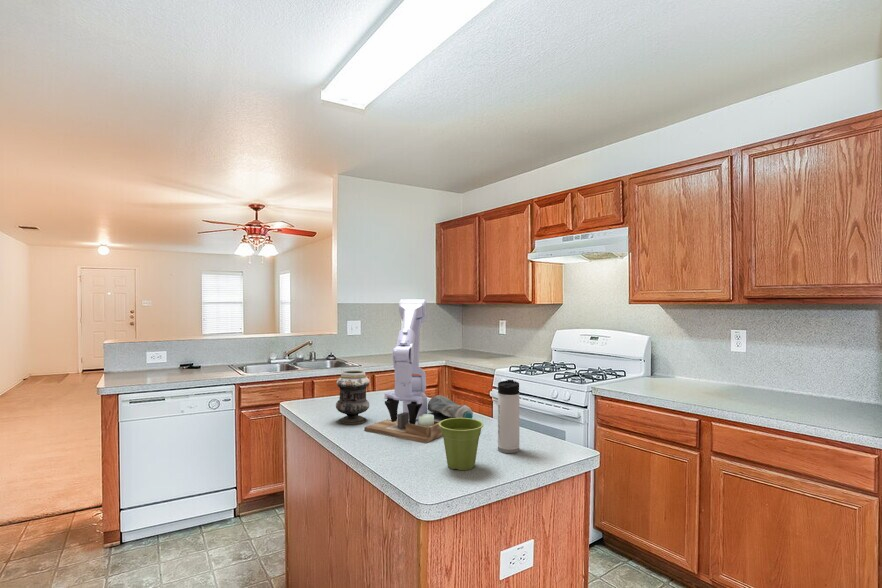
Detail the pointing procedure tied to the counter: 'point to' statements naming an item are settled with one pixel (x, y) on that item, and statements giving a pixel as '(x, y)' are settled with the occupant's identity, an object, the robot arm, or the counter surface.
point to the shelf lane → (407, 430)
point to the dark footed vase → (352, 396)
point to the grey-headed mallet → (422, 420)
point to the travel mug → (508, 416)
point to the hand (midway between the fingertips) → (403, 423)
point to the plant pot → (461, 441)
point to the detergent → (449, 408)
